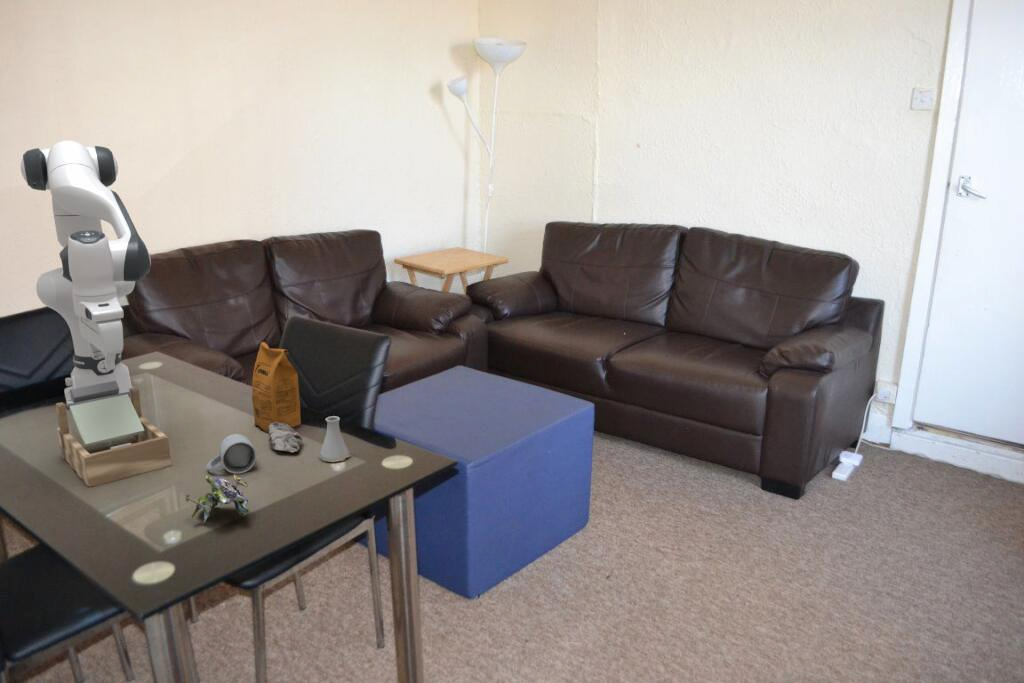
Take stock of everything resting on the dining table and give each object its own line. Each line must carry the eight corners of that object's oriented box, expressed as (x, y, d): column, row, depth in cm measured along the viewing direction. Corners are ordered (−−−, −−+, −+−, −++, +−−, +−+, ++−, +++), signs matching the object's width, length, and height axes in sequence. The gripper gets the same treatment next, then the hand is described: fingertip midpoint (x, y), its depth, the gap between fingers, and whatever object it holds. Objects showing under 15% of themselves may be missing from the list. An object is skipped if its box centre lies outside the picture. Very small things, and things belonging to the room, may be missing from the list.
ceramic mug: (251, 457, 196) (248, 427, 194) (258, 470, 189) (254, 439, 187) (205, 466, 191) (201, 436, 189) (210, 480, 184) (206, 448, 182)
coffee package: (282, 415, 223) (276, 337, 217) (306, 427, 215) (301, 346, 209) (248, 424, 216) (241, 344, 210) (272, 437, 208) (265, 354, 202)
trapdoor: (61, 398, 194) (61, 391, 192) (123, 385, 203) (124, 379, 201) (82, 449, 187) (83, 442, 185) (145, 434, 196) (147, 427, 194)
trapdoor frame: (61, 455, 196) (52, 400, 192) (138, 436, 208) (131, 384, 204) (89, 487, 180) (80, 427, 176) (171, 465, 191) (164, 408, 187)
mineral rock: (303, 455, 197) (302, 438, 196) (268, 459, 195) (267, 441, 194) (302, 433, 211) (300, 417, 210) (269, 436, 209) (268, 420, 208)
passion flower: (243, 538, 170) (263, 504, 163) (191, 547, 162) (210, 512, 156) (226, 493, 175) (245, 459, 169) (175, 500, 168) (193, 464, 161)
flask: (313, 457, 196) (310, 418, 193) (338, 449, 201) (336, 410, 198) (331, 466, 191) (328, 426, 188) (356, 457, 196) (354, 418, 194)
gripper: (67, 298, 188) (75, 355, 192) (94, 316, 173) (102, 378, 177) (97, 294, 192) (104, 350, 196) (125, 312, 177) (132, 372, 181)
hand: (103, 363), depth 186 cm, fingers open, 8 cm apart
